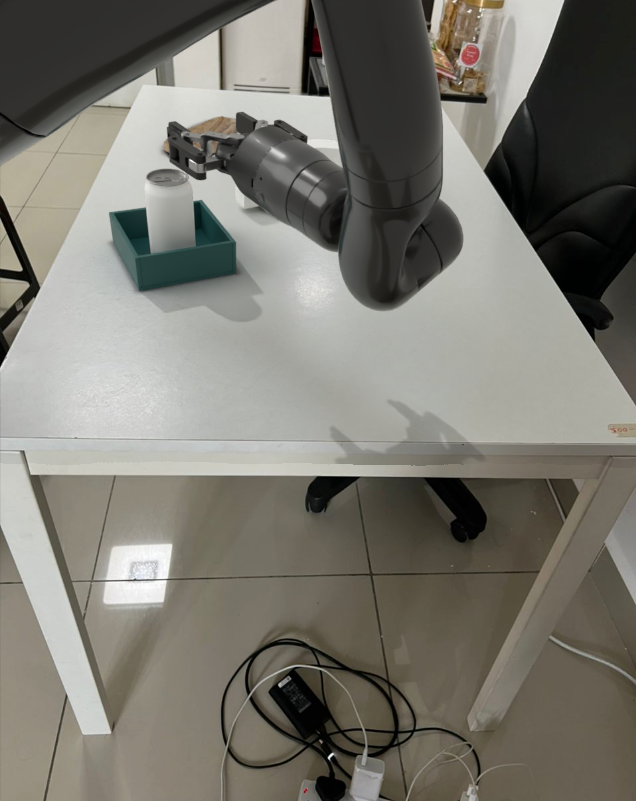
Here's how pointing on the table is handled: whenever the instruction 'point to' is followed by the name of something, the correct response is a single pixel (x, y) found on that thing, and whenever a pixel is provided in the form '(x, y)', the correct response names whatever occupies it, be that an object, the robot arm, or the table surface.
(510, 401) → the table surface
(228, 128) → the fish fossil
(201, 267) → the teal open storage bin
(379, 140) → the robot arm
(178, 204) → the can
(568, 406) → the table surface
